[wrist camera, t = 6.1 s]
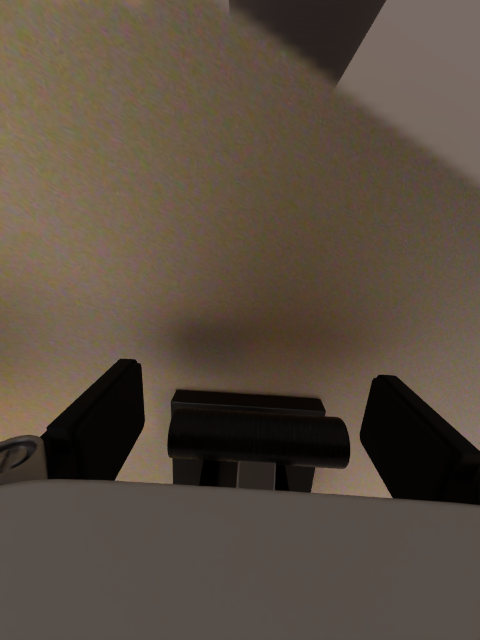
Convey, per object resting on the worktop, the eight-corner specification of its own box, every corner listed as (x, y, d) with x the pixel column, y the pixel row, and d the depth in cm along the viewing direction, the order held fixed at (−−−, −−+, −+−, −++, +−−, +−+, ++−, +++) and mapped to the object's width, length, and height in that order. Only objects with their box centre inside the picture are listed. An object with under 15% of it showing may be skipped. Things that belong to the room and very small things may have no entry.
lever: (184, 399, 9) (164, 419, 7) (328, 408, 9) (359, 432, 7) (154, 783, 8) (119, 965, 6) (315, 794, 8) (347, 983, 6)
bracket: (176, 389, 16) (-60, 889, 4) (320, 398, 16) (575, 935, 4) (178, 527, 19) (63, 1014, 7) (296, 534, 19) (384, 1038, 7)
